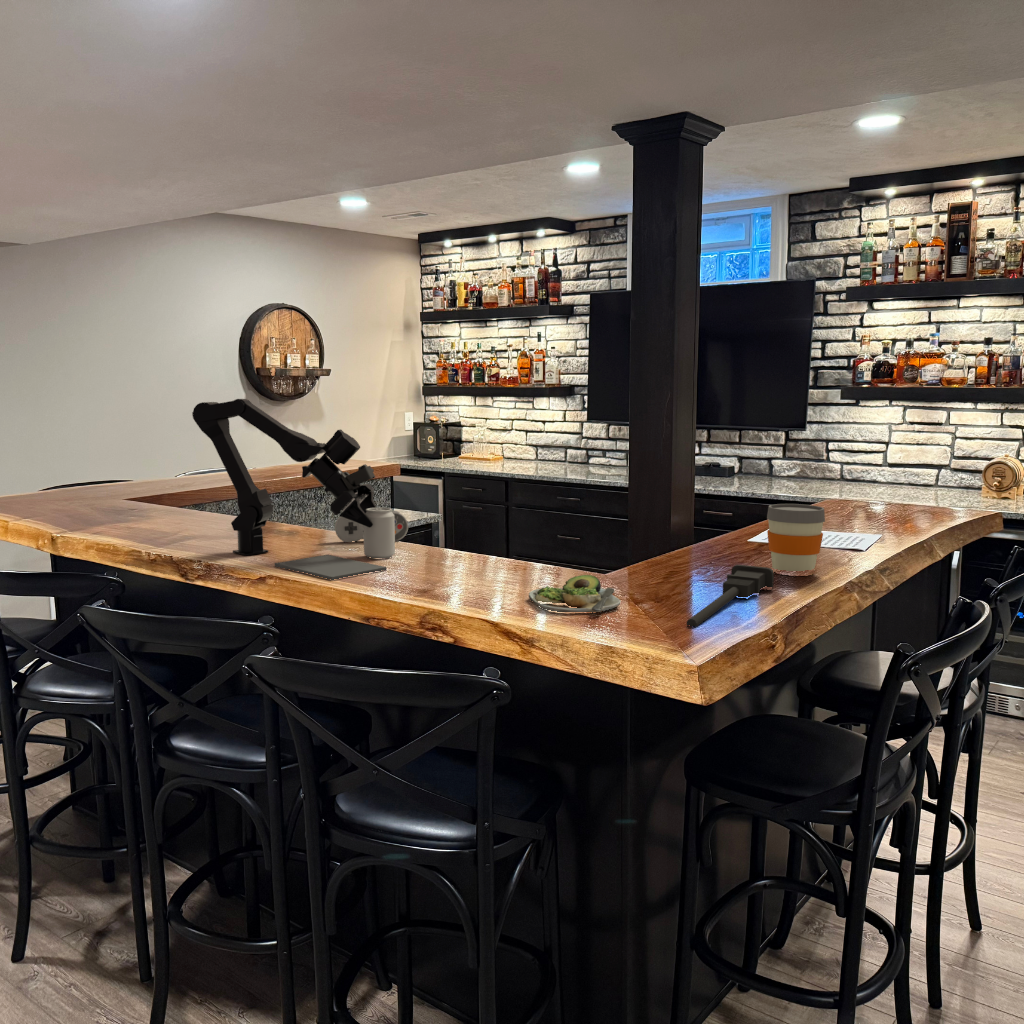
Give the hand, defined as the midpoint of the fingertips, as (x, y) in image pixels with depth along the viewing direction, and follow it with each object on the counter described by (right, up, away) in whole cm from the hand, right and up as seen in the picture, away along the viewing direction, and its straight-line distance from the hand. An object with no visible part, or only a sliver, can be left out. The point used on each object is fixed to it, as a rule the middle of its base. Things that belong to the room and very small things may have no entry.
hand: (377, 523), depth 218 cm
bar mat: (-9, -10, -13) cm, 19 cm away
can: (0, -8, +1) cm, 8 cm away
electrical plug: (+75, -16, -44) cm, 88 cm away
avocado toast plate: (+45, -15, -44) cm, 65 cm away
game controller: (-5, -5, +23) cm, 24 cm away
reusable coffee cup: (+97, -11, -15) cm, 99 cm away
